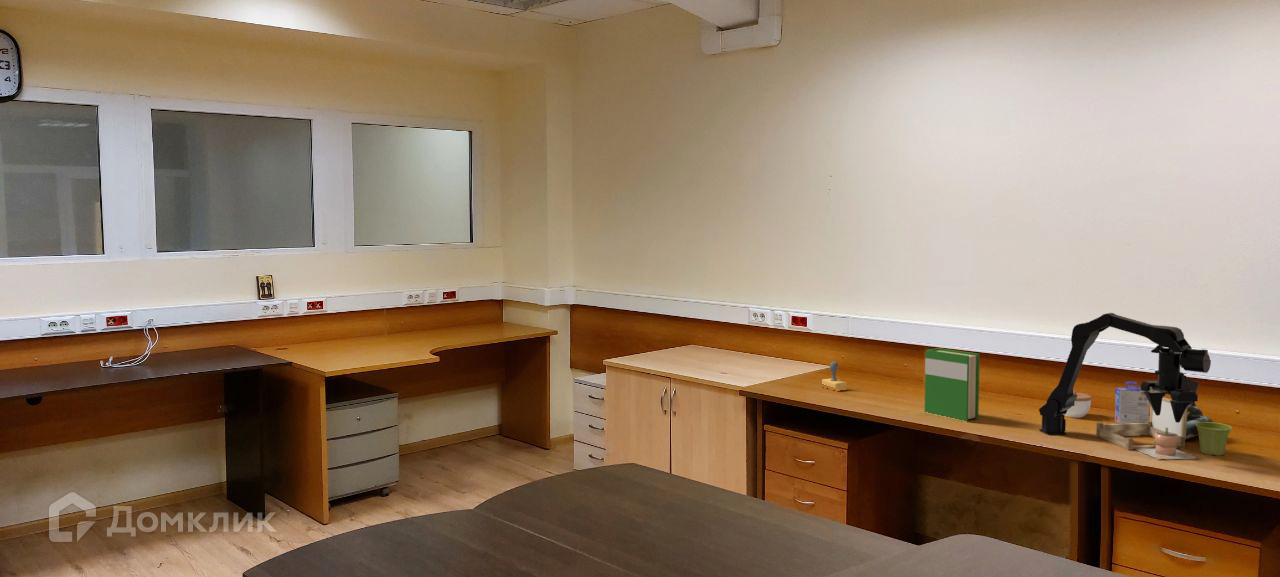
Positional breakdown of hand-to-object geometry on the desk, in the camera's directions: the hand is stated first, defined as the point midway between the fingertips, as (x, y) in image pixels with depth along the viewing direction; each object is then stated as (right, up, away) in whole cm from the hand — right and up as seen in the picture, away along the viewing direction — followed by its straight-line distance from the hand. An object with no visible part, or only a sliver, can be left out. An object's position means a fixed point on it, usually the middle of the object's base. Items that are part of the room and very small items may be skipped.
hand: (1167, 418), depth 266 cm
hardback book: (-47, -7, +55) cm, 72 cm away
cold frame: (0, -10, +16) cm, 18 cm away
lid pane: (+10, -7, +16) cm, 20 cm away
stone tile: (0, -11, +1) cm, 11 cm away
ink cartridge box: (+12, -8, +41) cm, 43 cm away
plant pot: (+15, -11, +2) cm, 19 cm away
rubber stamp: (-79, -3, +106) cm, 132 cm away
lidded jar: (-3, -7, +52) cm, 52 cm away
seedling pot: (0, -11, +1) cm, 11 cm away
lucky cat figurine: (+18, -9, +21) cm, 29 cm away
